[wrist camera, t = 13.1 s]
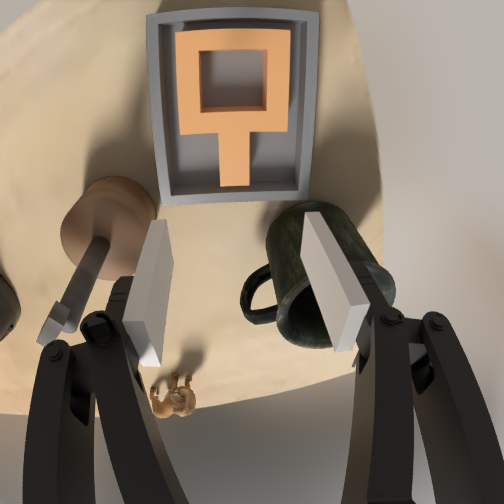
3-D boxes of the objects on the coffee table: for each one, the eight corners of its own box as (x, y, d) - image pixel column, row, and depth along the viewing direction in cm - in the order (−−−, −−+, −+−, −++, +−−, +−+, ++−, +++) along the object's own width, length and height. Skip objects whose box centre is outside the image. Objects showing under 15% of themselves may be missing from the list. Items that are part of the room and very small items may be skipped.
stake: (129, 259, 35) (91, 387, 21) (69, 218, 31) (-1, 333, 17) (172, 209, 32) (140, 344, 18) (106, 159, 27) (18, 268, 13)
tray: (166, 192, 30) (161, 206, 28) (153, 19, 20) (145, 15, 17) (300, 187, 32) (307, 200, 29) (309, 16, 21) (319, 12, 19)
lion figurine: (176, 360, 48) (173, 407, 41) (203, 370, 50) (203, 415, 43) (145, 391, 54) (141, 431, 47) (169, 399, 56) (167, 437, 49)
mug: (359, 254, 38) (397, 324, 28) (253, 292, 40) (264, 370, 30) (343, 181, 32) (394, 244, 22) (218, 227, 34) (219, 307, 24)
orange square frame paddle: (279, 172, 30) (284, 184, 27) (188, 176, 29) (184, 188, 27) (283, 33, 21) (290, 30, 19) (180, 35, 21) (175, 32, 18)
